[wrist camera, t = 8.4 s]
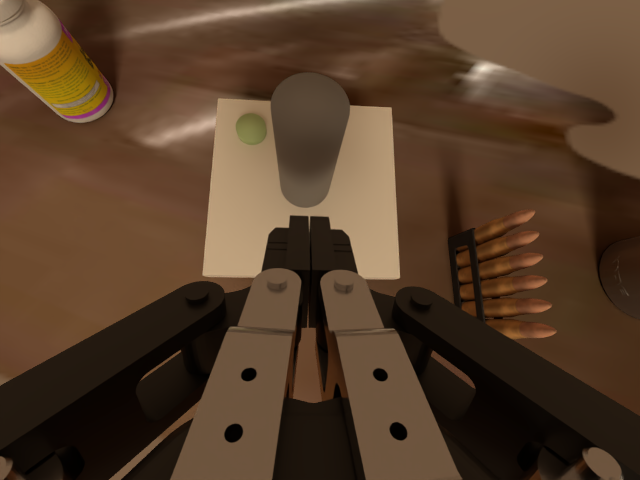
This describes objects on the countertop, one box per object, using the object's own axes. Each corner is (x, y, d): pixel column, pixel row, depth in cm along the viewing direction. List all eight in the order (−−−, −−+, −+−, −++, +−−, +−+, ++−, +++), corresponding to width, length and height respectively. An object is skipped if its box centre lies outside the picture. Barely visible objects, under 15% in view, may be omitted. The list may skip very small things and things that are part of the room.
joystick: (387, 115, 29) (443, -3, 18) (395, 279, 26) (468, 256, 15) (221, 107, 28) (173, -24, 17) (207, 276, 24) (135, 250, 14)
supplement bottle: (128, 96, 37) (44, -16, 25) (86, 135, 35) (-27, 36, 23) (85, 66, 38) (-18, -58, 25) (42, 104, 36) (-92, -10, 24)
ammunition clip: (447, 238, 36) (520, 199, 24) (463, 238, 36) (543, 199, 24) (457, 336, 33) (545, 345, 21) (474, 336, 33) (570, 345, 22)
